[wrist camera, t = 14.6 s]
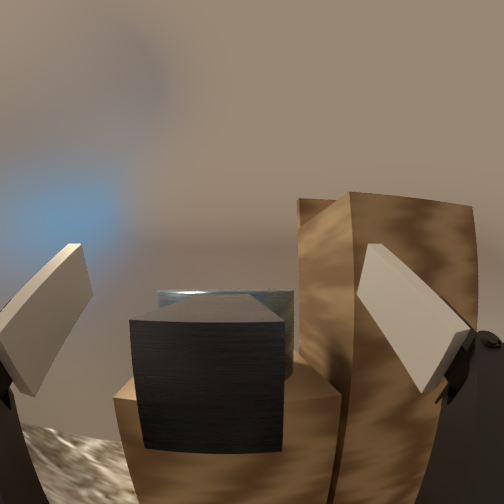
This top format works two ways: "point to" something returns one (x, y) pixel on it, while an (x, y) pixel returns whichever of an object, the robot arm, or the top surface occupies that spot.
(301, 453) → the pine stand
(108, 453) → the top surface
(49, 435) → the top surface
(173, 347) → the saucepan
